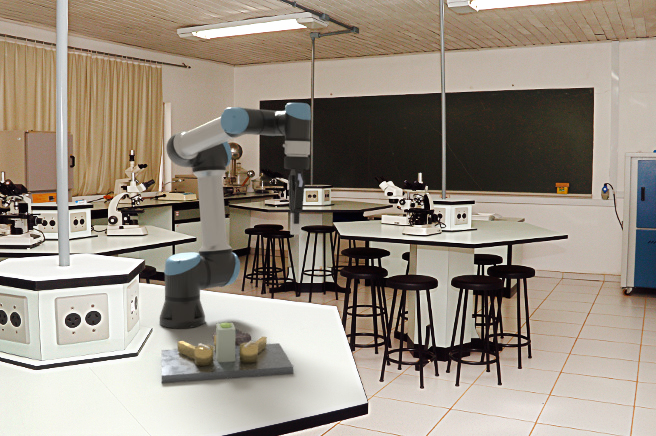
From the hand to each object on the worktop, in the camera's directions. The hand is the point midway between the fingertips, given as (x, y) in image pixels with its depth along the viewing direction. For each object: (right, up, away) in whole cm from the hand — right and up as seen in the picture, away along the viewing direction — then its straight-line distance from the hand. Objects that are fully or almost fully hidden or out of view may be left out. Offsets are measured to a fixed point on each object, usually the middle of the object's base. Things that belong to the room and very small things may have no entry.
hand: (295, 234), depth 183 cm
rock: (-20, -34, +2) cm, 40 cm away
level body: (-18, -34, -16) cm, 42 cm away
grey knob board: (-18, -36, -16) cm, 43 cm away
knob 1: (-27, -33, -17) cm, 46 cm away
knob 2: (-11, -33, -12) cm, 37 cm away
